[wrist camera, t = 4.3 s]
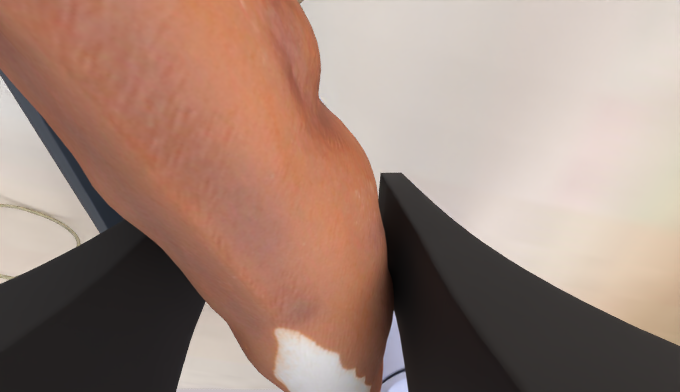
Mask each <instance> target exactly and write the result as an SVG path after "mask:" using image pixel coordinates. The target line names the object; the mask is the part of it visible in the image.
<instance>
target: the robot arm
mask: <svg viewBox="0 0 680 392" xmlns="http://www.w3.org/2000/svg"><path fill="white" fill-rule="evenodd" d="M378 203H379V209H380V214H381V219H382V223H383V227H384V231H385V237H386V244H387V261H388V269H389V272H390V275H391V277H392V282H393V291H394V313H393V320H392V325H391V329H390V332H389V336H388V339H387V343H386V349H385V353H384V358H383V378H382V385H381V391H380V392H680V346H678V345H676V344H674V343H671V342H669V341H667V340H664V339H662V338H660V337H658V336H655V335H653V334H651V333H648V332H646V331H644V330H641V329H639V328H637V327H635V326H633V325H630V324H628V323H626V322H624V321H622V320H620V319H618V318H616V317H614V316H612V315H610V314H608V313H606V312H604V311H602V310H600V309H598V308H595V307H593V306H591V305H589V304H587V303H585V302H583V301H581V300H579V299H578V298H576V297H574V296H572V295H570V294H568V293H566V292H564V291H562V290H560V289H559V288H557V287H555V286H553V285H551V284H550V283H548V282H546V281H544V280H543V279H541V278H539V277H537V276H536V275H534V274H532V273H530V272H529V271H527V270H525V269H523V268H522V267H520V266H518V265H517V264H515V263H514V262H512V261H510V260H509V259H507V258H506V257H504V256H503V255H501V254H500V253H498V252H497V251H495V250H494V249H492V248H491V247H489V246H488V245H486V244H485V243H483V242H482V241H480V240H479V239H478V238H476V237H475V236H473V235H472V234H471V233H469V232H468V231H467V230H466V229H464V228H463V227H462V226H460V225H459V224H458V223H457V222H455V221H454V220H453V219H452V218H450V217H449V216H448V215H447V214H446V213H444V212H443V211H442V210H441V209H440V208H439V207H438V206H436V205H435V204H434V203H433V202H432V201H431V200H430V199H429V198H428V197H426V196H425V195H424V194H423V193H422V192H421V191H420V190H419V189H418V188H417V187H416V186H415V185H414V184H413V183H412V182H411V181H410V180H408V179H407V178H406V177H405V176H404V175H403V174H402V173H381V176H380V187H379V198H378ZM205 302H206V301H205V300H204V299H203V298H202V297H201V295H200V294H199V293H198V292H197V290H196V289H195V288H194V286H193V285H192V284H191V282H190V281H189V280H188V279H187V277H186V276H185V275H184V273H183V272H182V271H181V270H180V268H179V267H178V266H177V265H176V264H175V263H174V262H173V260H172V259H171V258H170V257H169V256H168V255H167V254H166V253H165V251H164V250H163V249H162V248H161V247H160V246H159V245H157V244H156V243H155V242H154V241H153V240H152V239H150V238H149V237H148V236H147V235H145V234H144V233H143V232H141V231H140V230H139V229H137V228H136V227H135V226H133V225H132V224H131V223H129V222H128V221H127V220H125V219H124V220H122V221H121V222H119V223H117V224H116V225H114V226H112V227H111V228H109V229H107V230H106V231H104V232H102V233H101V234H99V235H97V236H96V237H94V238H92V239H90V240H89V241H87V242H85V243H83V244H81V245H80V246H78V247H76V248H74V249H72V250H70V251H68V252H66V253H64V254H62V255H60V256H59V257H57V258H55V259H53V260H51V261H49V262H47V263H45V264H43V265H41V266H39V267H37V268H35V269H33V270H30V271H28V272H26V273H24V274H22V275H20V276H17V277H15V278H13V279H11V280H8V281H6V282H4V283H2V284H0V392H176V389H177V386H178V382H179V378H180V375H181V371H182V368H183V364H184V361H185V357H186V354H187V350H188V347H189V344H190V341H191V338H192V335H193V332H194V329H195V326H196V324H197V321H198V319H199V316H200V314H201V312H202V309H203V307H204V304H205Z"/></svg>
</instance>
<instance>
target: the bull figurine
mask: <svg viewBox="0 0 680 392" xmlns="http://www.w3.org/2000/svg"><path fill="white" fill-rule="evenodd" d="M302 1H303V0H0V69H1V70H2V72H3V73H4V74H5V75H6V76H7V77H8V79H9V80H10V81H11V82H12V83H13V84H14V86H15V87H16V88H17V89H18V90H19V91H20V92H21V93H22V94H23V96H24V97H25V98H26V99H27V100H28V101H29V102H30V103H31V105H32V106H33V107H34V108H35V109H36V110H37V111H38V112H39V113H40V115H41V116H42V117H43V118H44V119H45V120H46V122H47V123H48V124H49V126H50V127H51V128H52V129H53V131H54V132H55V133H56V134H57V136H58V137H59V138H60V139H61V141H62V142H63V143H64V144H65V146H66V147H67V148H68V150H69V151H70V152H71V153H72V155H73V156H74V158H75V159H76V160H77V162H78V163H79V165H80V166H81V168H82V170H83V171H84V173H85V175H86V176H87V178H88V180H89V181H90V183H91V185H92V186H93V187H94V189H95V190H96V191H97V192H98V193H99V194H100V196H101V197H102V198H103V199H104V200H105V201H106V203H107V204H108V205H109V206H110V207H111V208H112V209H114V210H115V211H116V212H117V213H118V214H119V215H120V216H122V217H123V218H124V219H125V220H127V221H128V222H129V223H131V224H132V225H133V226H135V227H136V228H137V229H139V230H140V231H141V232H143V233H144V234H145V235H147V236H148V237H149V238H150V239H152V240H153V241H154V242H155V243H156V244H157V245H159V246H160V247H161V248H162V249H163V250H164V251H165V253H166V254H167V255H168V256H169V257H170V258H171V259H172V260H173V262H174V263H175V264H176V265H177V266H178V267H179V268H180V270H181V271H182V272H183V273H184V275H185V276H186V277H187V279H188V280H189V281H190V282H191V284H192V285H193V286H194V288H195V289H196V290H197V292H198V293H199V294H200V295H201V297H202V298H203V299H204V300H205V301H206V302H207V303H208V304H209V306H210V307H211V308H212V309H213V310H214V311H216V312H217V313H218V314H219V315H220V316H221V317H222V318H223V319H224V320H225V321H226V322H227V323H228V325H229V327H230V329H231V330H232V332H233V334H234V336H235V338H236V339H237V341H238V343H239V345H240V347H241V348H242V350H243V352H244V353H245V355H246V356H247V358H248V360H249V361H250V362H251V363H252V364H253V366H254V367H255V368H256V369H257V370H258V372H260V373H261V374H262V375H263V376H264V377H265V378H267V379H268V380H269V381H271V382H272V383H273V384H275V385H276V386H277V387H279V388H280V389H282V390H283V391H284V392H380V391H381V385H382V378H383V358H384V353H385V349H386V343H387V339H388V336H389V332H390V329H391V325H392V320H393V313H394V291H393V282H392V277H391V275H390V272H389V269H388V261H387V244H386V237H385V231H384V227H383V223H382V219H381V214H380V209H379V203H378V193H377V187H376V182H375V178H374V174H373V171H372V168H371V165H370V162H369V160H368V158H367V156H366V154H365V152H364V150H363V148H362V147H361V145H360V144H359V142H358V141H357V140H356V138H355V137H354V136H353V134H352V133H351V132H350V131H349V130H348V129H347V127H346V126H345V125H344V124H343V123H342V121H341V120H340V119H339V118H338V117H336V116H335V115H334V114H333V113H332V112H331V111H330V110H329V109H328V108H327V107H326V106H325V105H324V104H323V103H322V102H321V100H320V99H319V95H318V91H319V82H320V73H321V63H320V54H319V49H318V44H317V40H316V37H315V35H314V32H313V29H312V27H311V25H310V23H309V21H308V19H307V17H306V15H305V13H304V11H303V9H302V8H301V6H300V3H301V2H302Z"/></svg>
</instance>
